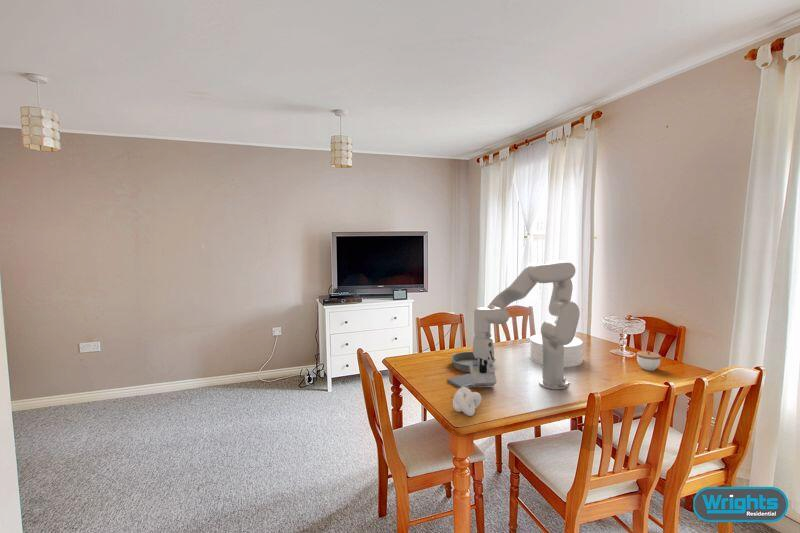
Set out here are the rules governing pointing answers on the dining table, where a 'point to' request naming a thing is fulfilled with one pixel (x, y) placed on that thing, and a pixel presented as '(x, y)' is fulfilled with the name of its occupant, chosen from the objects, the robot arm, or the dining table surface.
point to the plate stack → (570, 351)
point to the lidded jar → (648, 360)
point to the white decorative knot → (466, 401)
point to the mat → (461, 381)
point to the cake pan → (464, 360)
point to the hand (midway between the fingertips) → (483, 372)
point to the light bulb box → (482, 375)
